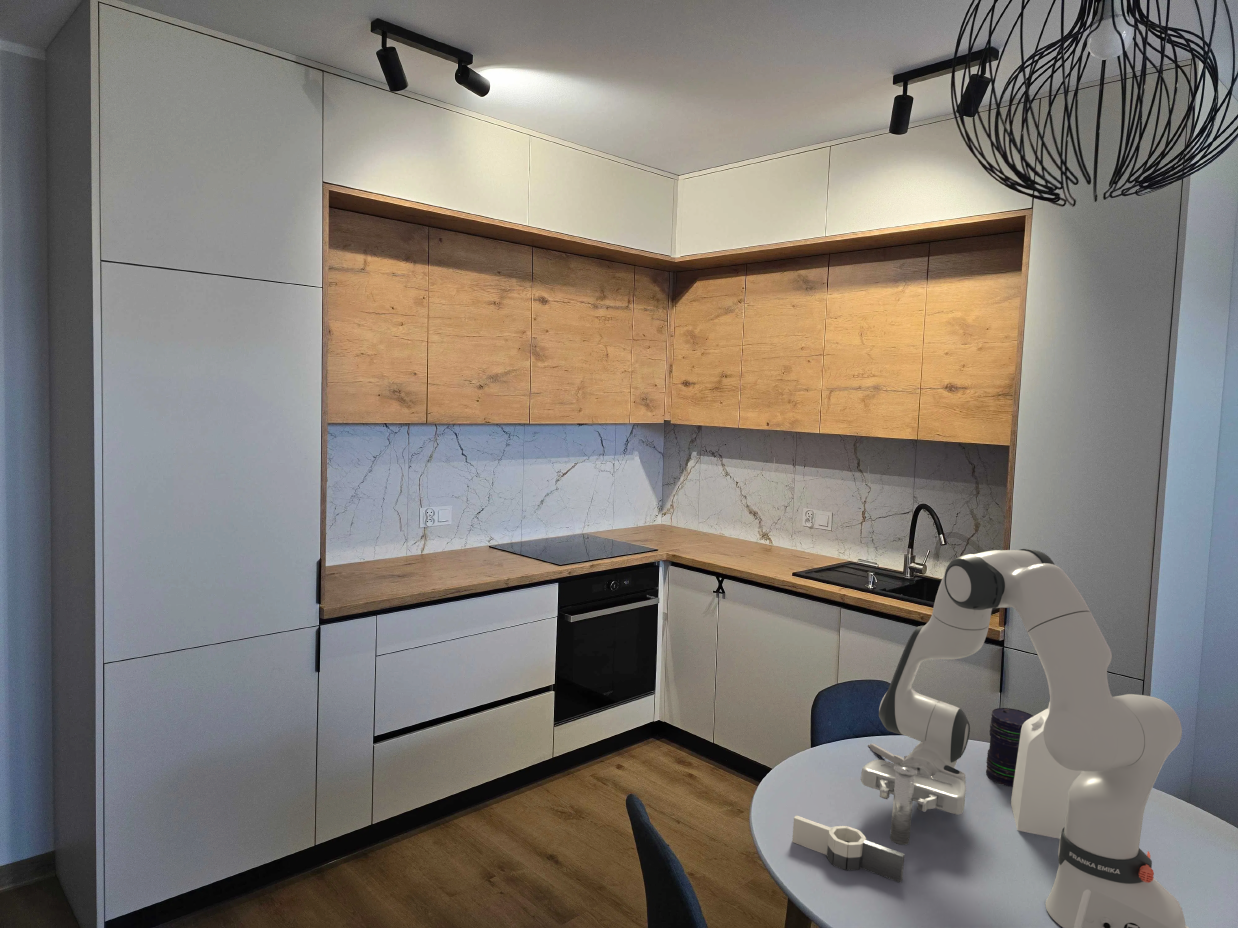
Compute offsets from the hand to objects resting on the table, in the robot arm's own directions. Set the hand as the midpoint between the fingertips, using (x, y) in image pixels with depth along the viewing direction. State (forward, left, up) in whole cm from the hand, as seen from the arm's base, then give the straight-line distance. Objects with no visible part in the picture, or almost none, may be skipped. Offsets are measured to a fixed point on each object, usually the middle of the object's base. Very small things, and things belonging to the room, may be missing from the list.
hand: (901, 800), depth 166 cm
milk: (-22, -28, -9) cm, 37 cm away
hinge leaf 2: (+2, +13, -8) cm, 16 cm away
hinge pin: (0, -1, -9) cm, 9 cm away
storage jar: (-12, -45, -9) cm, 47 cm away
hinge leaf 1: (+10, +13, -9) cm, 18 cm away
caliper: (+12, -33, -9) cm, 36 cm away
